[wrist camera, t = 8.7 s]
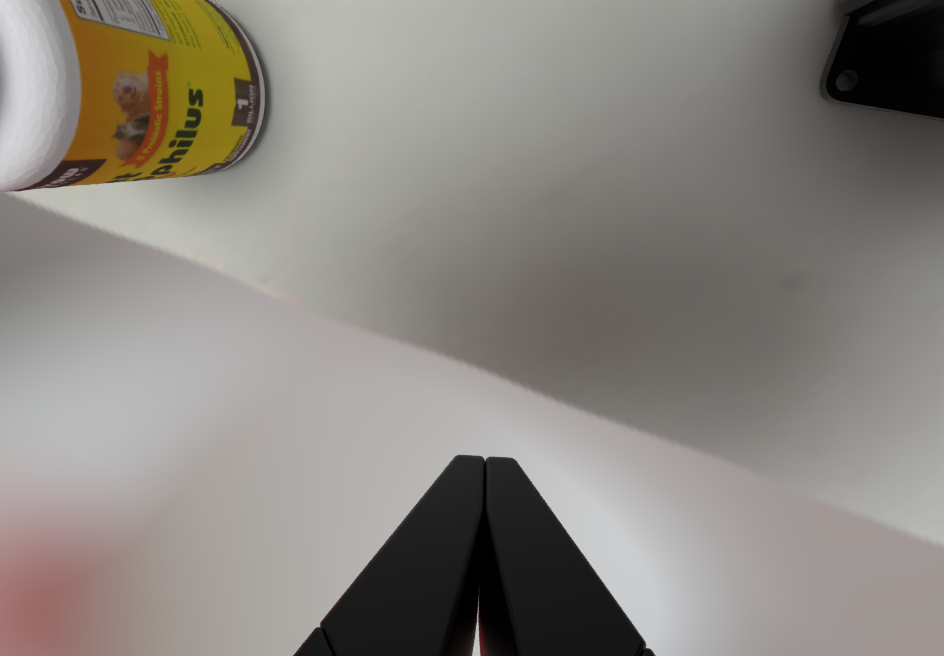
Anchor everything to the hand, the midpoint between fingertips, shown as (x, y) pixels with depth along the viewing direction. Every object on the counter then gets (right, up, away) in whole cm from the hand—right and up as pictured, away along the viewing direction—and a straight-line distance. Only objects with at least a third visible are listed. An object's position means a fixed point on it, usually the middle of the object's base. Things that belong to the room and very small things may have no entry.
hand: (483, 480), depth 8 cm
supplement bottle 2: (-9, +10, +11) cm, 18 cm away
